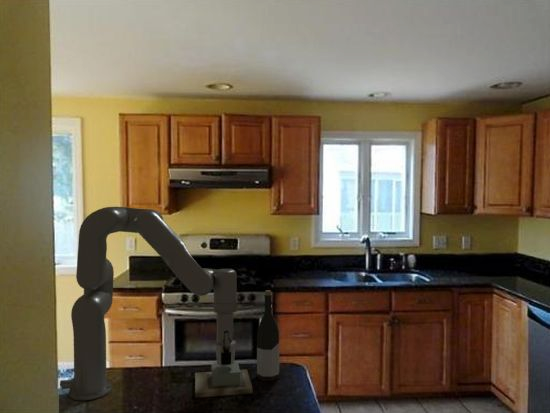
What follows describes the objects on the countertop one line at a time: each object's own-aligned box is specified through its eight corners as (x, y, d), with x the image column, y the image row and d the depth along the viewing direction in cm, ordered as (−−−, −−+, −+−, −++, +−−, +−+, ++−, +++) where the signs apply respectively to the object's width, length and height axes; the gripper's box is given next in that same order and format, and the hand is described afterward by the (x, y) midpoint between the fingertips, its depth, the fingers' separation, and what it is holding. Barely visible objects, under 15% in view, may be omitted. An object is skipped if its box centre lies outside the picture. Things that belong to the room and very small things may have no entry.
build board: (195, 397, 136) (195, 392, 136) (195, 377, 151) (195, 372, 151) (252, 393, 139) (252, 388, 139) (246, 373, 155) (246, 368, 155)
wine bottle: (263, 370, 157) (263, 287, 157) (283, 374, 154) (283, 289, 153) (252, 378, 150) (252, 291, 150) (273, 383, 146) (273, 294, 146)
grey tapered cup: (236, 359, 149) (236, 338, 149) (235, 366, 142) (235, 345, 142) (216, 359, 148) (216, 338, 148) (214, 366, 142) (213, 345, 141)
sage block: (212, 386, 140) (212, 374, 140) (211, 375, 149) (211, 363, 149) (240, 384, 142) (240, 372, 142) (237, 373, 150) (237, 362, 150)
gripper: (212, 301, 153) (213, 352, 153) (214, 313, 136) (215, 371, 136) (234, 300, 154) (234, 351, 154) (239, 312, 137) (239, 369, 137)
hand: (225, 360), depth 145 cm, fingers closed on grey tapered cup, 5 cm apart
